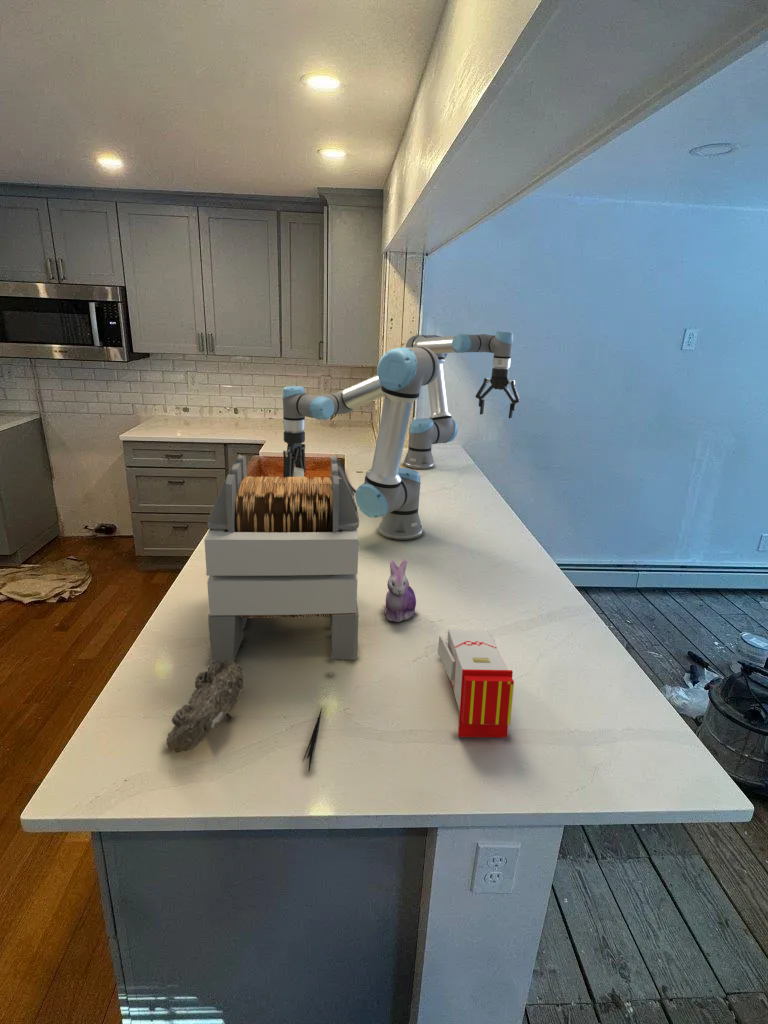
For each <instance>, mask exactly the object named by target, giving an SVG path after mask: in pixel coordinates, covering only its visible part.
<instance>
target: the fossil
mask: <svg viewBox="0 0 768 1024" xmlns="http://www.w3.org/2000/svg"><path fill="white" fill-rule="evenodd" d="M243 670H244V669H243V667H242V665H240V664H237V662H236V661H235V659H234V660H232V659H231V660H228V659H227V660H224V661H217V660H212V661H211V660H210V663H209V665H208V666H207V671H201V672H199V673H198V674H197V675H196V676H195V680H194V684H195V685H194V687H195V689H194V690H193V693H192V694H191V697H190V698H189V700H188V704H184V705H182V706H181V707H180V709H177V710H176V711H175V713H174V715H173V716H172V718H171V723H172V724H173V727H172V730H171V731H170V732H168V734H167V738H166V741H167V742H166V745H167V749H168V750H169V751H173V752H174V753H176V754H178V753H182V752H188V751H189V752H192V751H193V750H195V748H196V747H197V746H199V744H200V743H201V742H203V741H204V740H205V739H206V738H207V737H208V736H209V735H210V734H211V733H212V732H214V730H215V729H217V727H218V726H219V724H220V722H221V721H222V720H223V719H224V718H225V716H226V717H227V719H229V720H233V717H232V715H230V714H229V710H230V709H231V708H234V706H235V704H236V703H237V702H238V699H239V697H240V695H241V693H242V691H243V690H245V689H244V688H245V675H244V671H243Z"/></svg>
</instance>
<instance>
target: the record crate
mask: <svg viewBox="0 0 768 1024" xmlns="http://www.w3.org/2000/svg"><path fill="white" fill-rule="evenodd" d="M339 460H340V459H339V458H338V456H337V455H331V456H330V476H324V477H321V476H314V477H312V478H309V477H308V476H304V477H287V478H284V477H282V476H281V477H280V476H263V475H261V476H254V475H253V476H250V475H248V472H247V458H246V455H245V454H244V455H241V454H238V455H237V456H236V459H235V460H234V462H232V463H233V464H232V467H231V468H230V470H229V474H227V475H226V477H225V480H224V482H223V484H222V486H221V488H220V490H219V493H218V496H217V498H216V500H215V502H214V504H213V506H212V508H211V511H210V513H209V515H208V517H207V521H206V522H207V523H206V524H207V528H208V531H207V533H206V535H205V537H204V554H205V556H204V557H205V569H206V570H205V571H206V576H208V579H207V583H206V584H207V597H208V610H209V611H208V615H207V622H208V637H209V638H208V639H209V644H210V657H211V658H210V659H209V660H210V662H211V661H212V660H217V661H222V662H223V661H224V660H227V659H228V660H231V659H232V660H234V661H235V659H236V656H237V654H238V651H239V649H240V646H241V643H242V640H243V638H244V631H243V629H245V628H246V626H247V620H248V619H250V618H251V619H257V618H258V619H261V618H262V619H264V618H265V619H267V618H272V619H273V618H305V617H306V618H312V617H315V618H320V617H321V618H322V617H324V618H325V617H329V620H330V621H329V622H330V623H329V625H330V647H331V648H330V649H331V650H330V651H331V660H351V661H354V660H355V659H356V658H358V653H359V652H358V650H359V607H358V571H359V570H358V567H359V545H360V543H359V540H360V539H359V534H358V533H359V532H358V529H359V527H360V517H359V512H358V506H357V503H356V499H355V492H354V491H353V490H352V488H351V486H352V485H351V483H350V481H349V479H348V477H347V474H346V472H345V473H344V471H343V469H342V467H341V464H340V462H339ZM345 474H346V475H345ZM247 475H248V476H247ZM347 479H348V480H347ZM348 481H349V482H348ZM349 483H350V484H349ZM350 485H351V486H350Z"/></svg>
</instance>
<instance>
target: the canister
mask: <svg viewBox="0 0 768 1024" xmlns="http://www.w3.org/2000/svg"><path fill="white" fill-rule="evenodd" d="M293 477H305V473H304V469H302V468H298V467H296V466H295V467H294V474H293Z"/></svg>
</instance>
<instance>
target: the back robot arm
mask: <svg viewBox="0 0 768 1024" xmlns="http://www.w3.org/2000/svg"><path fill="white" fill-rule="evenodd" d="M513 344H514V333H513V331H504V330H498V331H496V332H495V335H493V334H486V333H479V334H467V333H461V334H456V335H444V336H442V335H436V334H416V335H413V336H411V337H409V339H408V340H407V341H406V344H405V348H408V347H425V348H428V349H430V350H432V351H433V352H434V353H435V354H436V356H437V357H438V360H439V365H440V368H439V372H438V375H437V377H436V378H435V379H434V380H433V381H432V382H431V383H429V384H427V391H428V398H429V406H430V415H429V417H428V418H427V417H424V418H423V417H421V418H416V419H412V421H410V423H409V428H408V448H407V452H406V455H405V457H404V460H403V466H404V467H405V468H407V469H411V470H431V469H433V468H434V467H435V462H434V457H433V453H432V446H433V445H438V444H447V443H451V442H453V441H454V440H455V439H456V437H457V435H458V432H459V427H458V423H457V422H456V420H454V419H453V417H452V414H451V413H450V412H449V408H448V401H447V391H446V384H445V375H444V366H443V365H444V363H445V362H446V358H447V357H448V354H457V353H458V354H461V353H489V354H490V353H491V354H493V359H492V367H493V368H491V377H490V378H489V377H485V378H483V382H482V384H481V386H480V387H479V389H478V391H477V393H476V394H475V398H476V399H478V407H479V415H484V412H485V411H484V409H485V402H486V401H485V399H484V398H486V396H487V395H488V394H489V393H490V392H492V391H493V390H500V391H502V390H503V392H505V394H506V395H507V397H508V399H509V400H510V401H511V402H510V404H509V412H508V419H513V412H514V411H515V410H516V407H517V403H520V402H521V398H520V395H519V392H518V389H517V386H516V380H515V379H513V380H509V379H510V378H509V377H510V369H509V368H510V367H511V361H512V360H511V359H512V351H513ZM489 383H490V384H491V385H490V386H489V387H488V388H487V389H486V390H485V388H486V387H487V385H488V384H489ZM508 385H509V386H510V387H511V390H510V389H509V386H508ZM511 391H512V392H511Z"/></svg>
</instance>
